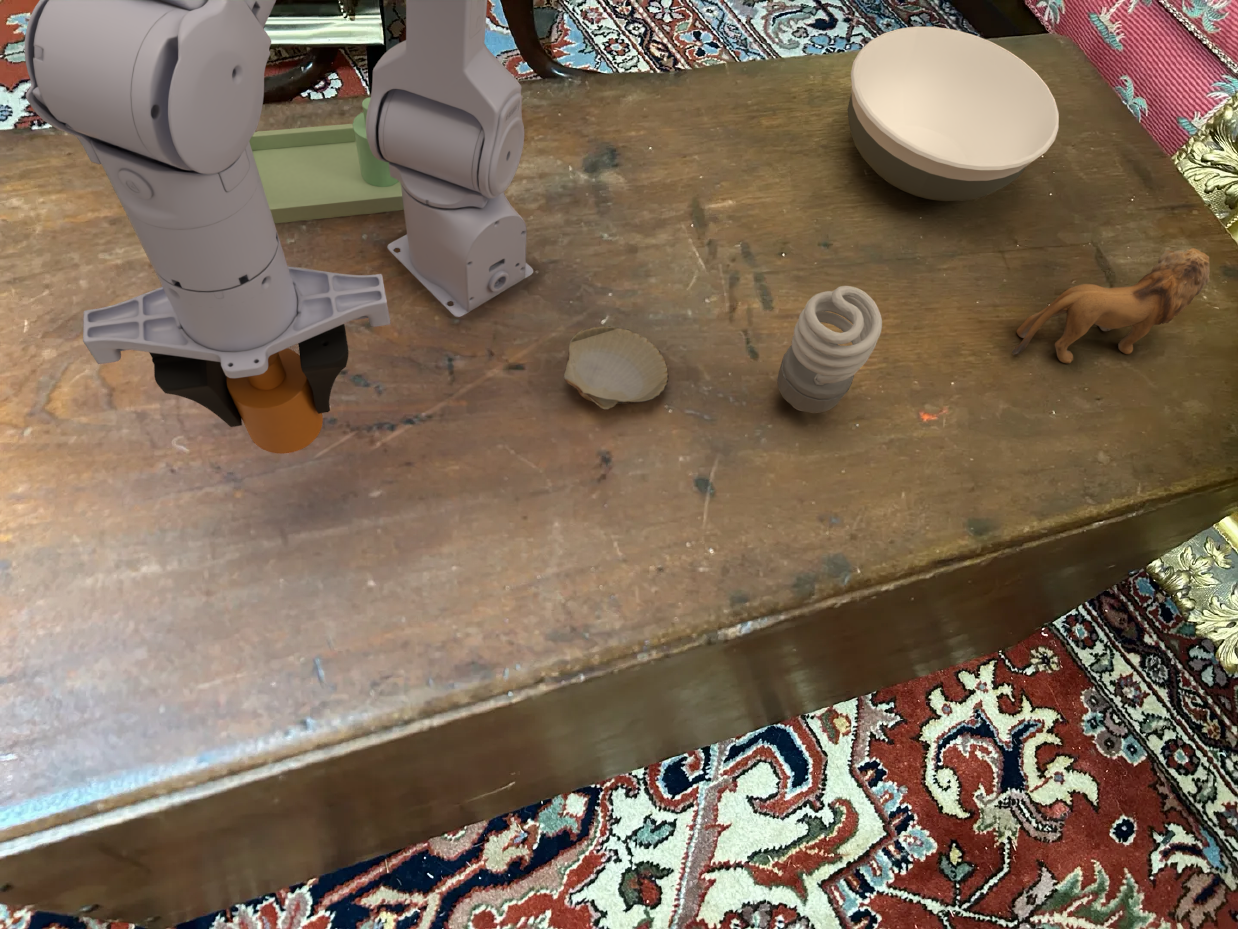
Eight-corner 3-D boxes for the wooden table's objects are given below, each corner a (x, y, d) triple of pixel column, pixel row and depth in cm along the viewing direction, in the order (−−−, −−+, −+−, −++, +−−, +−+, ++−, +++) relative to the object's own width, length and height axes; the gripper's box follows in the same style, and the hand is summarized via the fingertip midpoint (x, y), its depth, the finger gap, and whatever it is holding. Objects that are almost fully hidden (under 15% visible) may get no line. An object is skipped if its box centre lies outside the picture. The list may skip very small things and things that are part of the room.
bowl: (865, 248, 80) (900, 176, 73) (797, 106, 89) (822, 29, 82) (1049, 227, 84) (1099, 157, 77) (965, 93, 93) (1004, 19, 86)
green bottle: (412, 175, 78) (404, 107, 72) (377, 193, 76) (366, 125, 70) (387, 151, 79) (377, 82, 73) (352, 168, 77) (339, 99, 71)
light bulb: (838, 437, 70) (896, 341, 59) (767, 432, 69) (812, 334, 59) (831, 377, 72) (885, 276, 62) (762, 372, 72) (805, 269, 62)
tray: (467, 132, 82) (467, 113, 80) (486, 205, 78) (486, 187, 76) (244, 152, 78) (238, 132, 76) (251, 230, 73) (245, 211, 72)
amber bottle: (337, 427, 56) (316, 360, 50) (274, 467, 54) (244, 402, 48) (296, 381, 57) (271, 310, 51) (233, 418, 55) (200, 349, 49)
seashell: (671, 392, 72) (606, 317, 73) (689, 372, 70) (621, 296, 70) (603, 443, 67) (534, 363, 68) (619, 424, 65) (547, 341, 66)
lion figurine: (1130, 300, 80) (1196, 226, 73) (1166, 346, 78) (1239, 275, 70) (993, 334, 77) (1048, 261, 69) (1027, 384, 74) (1088, 314, 66)
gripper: (39, 334, 39) (148, 485, 50) (384, 290, 42) (411, 442, 54) (45, 214, 42) (146, 382, 54) (365, 182, 45) (394, 347, 57)
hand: (278, 405), depth 54 cm, fingers closed on amber bottle, 4 cm apart
